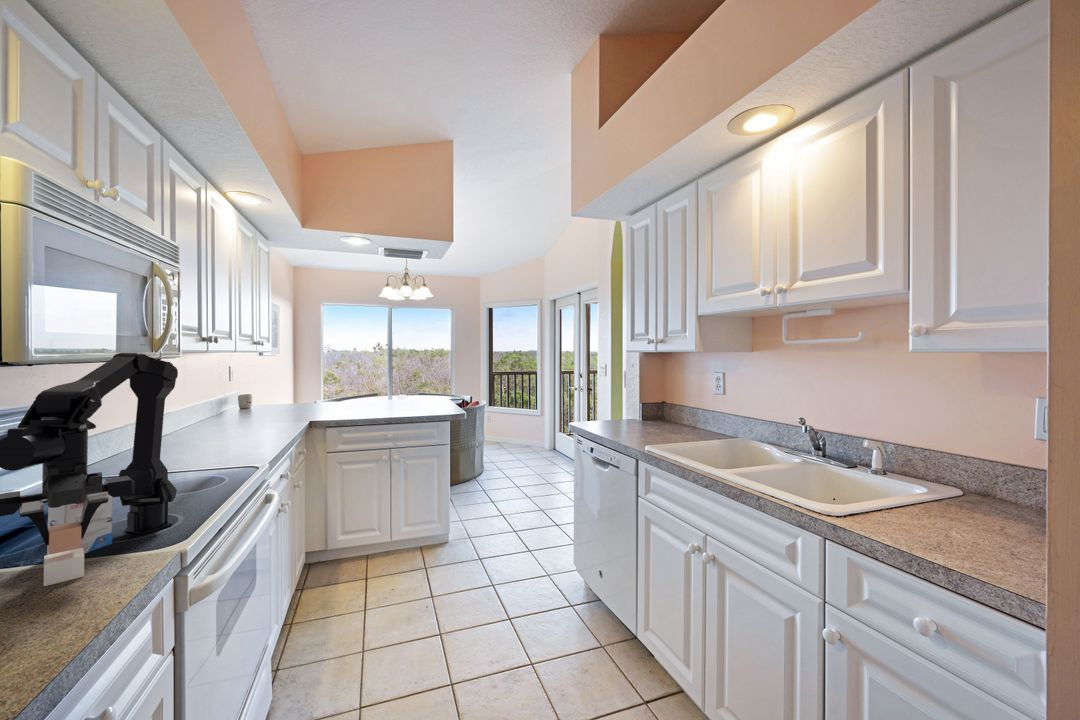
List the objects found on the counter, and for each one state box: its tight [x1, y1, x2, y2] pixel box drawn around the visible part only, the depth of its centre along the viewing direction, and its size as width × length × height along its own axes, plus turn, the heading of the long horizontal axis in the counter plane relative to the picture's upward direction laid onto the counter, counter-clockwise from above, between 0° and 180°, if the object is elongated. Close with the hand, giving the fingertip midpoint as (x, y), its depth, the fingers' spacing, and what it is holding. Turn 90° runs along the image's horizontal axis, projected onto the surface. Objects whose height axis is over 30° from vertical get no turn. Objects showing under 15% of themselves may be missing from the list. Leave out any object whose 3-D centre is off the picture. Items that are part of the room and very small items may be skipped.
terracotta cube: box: [47, 521, 81, 555], centre depth 83 cm, size 4×4×4 cm
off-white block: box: [43, 548, 85, 587], centre depth 83 cm, size 5×5×4 cm
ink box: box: [46, 495, 114, 555], centre depth 93 cm, size 9×5×12 cm, turn 168°
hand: (64, 541), depth 83 cm, fingers closed on terracotta cube, 4 cm apart
